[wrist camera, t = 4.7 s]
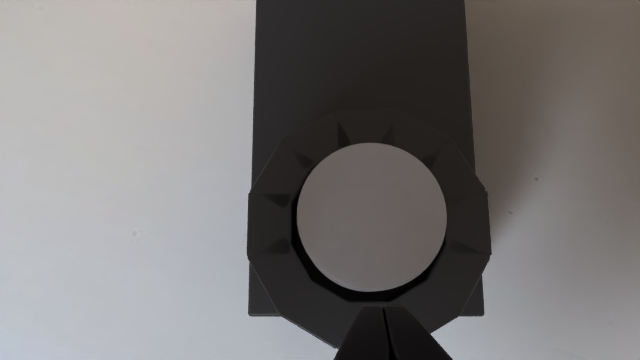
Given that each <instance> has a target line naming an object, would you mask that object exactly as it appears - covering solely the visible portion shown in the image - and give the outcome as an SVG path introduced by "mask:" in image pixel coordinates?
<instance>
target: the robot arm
mask: <svg viewBox="0 0 640 360" xmlns="http://www.w3.org/2000/svg"><path fill="white" fill-rule="evenodd" d="M334 360H453V359H452V358H451V357H450V356H449V355H448V354H447V352H446V351H445V350H444V349H443V348H442V347H441V346H440V345H439V344H438V342H437V341H436V340H435V339H434V338H433V337H432V336H431V335H430V333H429V332H428V331H427V330H426V329H425V328H424V327H423V326H422V325H421V323H420V322H419V321H418V320H417V319H416V318H415V317H414V316H413V314H412V313H411V312H410V311H409V310H408V309H407V308H406V307H405V306H403V305H386V306H384V308H382V307H381V306H380V305H363V306H361V307H360V309H359V311H358V313H357V315H356V317H355V319H354V321H353V322H352V324H351V326H350V328H349V330H348V332H347V334H346V336H345V338H344V340H343V342H342V344H341V346H340V348H339V350H338V352H337V354H336V356H335V358H334Z"/></svg>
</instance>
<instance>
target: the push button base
mask: <svg viewBox="0 0 640 360" xmlns="http://www.w3.org/2000/svg"><path fill="white" fill-rule="evenodd" d="M360 143H381V144H386V145H391V146H394V147H397V148H400V149H402V150H404V151H406V152H408V153H409V154H411V155H413V156H414V157H416V158H417V159H418V160H419V161H421V162H422V163H423V164H424V165H425V166H426V167H427V168H428V169H429V170H430V172H431V173H432V174H433V176H434V177H435V179H436V181H437V182H438V184H439V186H440V188H441V191H442V193H443V196H444V200H445V204H446V212H447V225H446V231H445V236H444V239H443V243H442V245H441V247H440V250H439V252H438V254H437V255H436V257H435V258H434V260H433V261H432V263H431V264H430V265H429V266H428V267H427V269H425V270H424V271H423V272H422V273H421V274H420V275H419V276H417V277H416V278H414V279H413V280H411V281H410V282H408V283H406V284H404V285H401V286H398V287H396V288H393V289H388V290H383V291H373V292H364V291H356V290H351V289H348V288H345V287H342V286H340V285H338V284H336V283H335V282H333V281H332V280H330V279H329V278H327V277H326V276H325V275H324V274H323V273H322V272H321V271H320V270H319V269H318V268H317V267H316V266H315V264H314V263H313V261H312V260H311V258H310V257H309V255H308V254H307V252H306V250H305V248H304V246H303V244H302V241H301V238H300V235H299V231H298V226H297V206H298V201H299V196H300V193H301V190H302V188H303V185H304V183H305V181H306V180H307V178H308V176H309V175H310V173H311V172H312V171H313V169H314V168H315V167H316V166H317V165H318V164H319V163H320V162H321V161H322V160H324V159H325V158H326V157H327V156H329V155H331V154H332V153H334V152H336V151H338V150H340V149H342V148H345V147H348V146H350V145H355V144H360ZM491 254H492V252H491V238H490V223H489V208H488V194H487V191H485V188H484V186H483V185H482V183H481V182H480V180H479V179H478V177H477V176H476V174H475V158H474V143H473V127H472V111H471V96H470V80H469V64H468V49H467V33H466V17H465V2H464V0H256V31H255V70H254V108H253V147H252V186H251V190H250V193H249V194H248V229H247V256H248V260H249V261H250V263H249V301H248V314H249V316H282V317H283V318H285V319H287V320H288V321H290V322H292V323H293V324H295V325H297V326H298V327H300V328H302V329H303V330H305V331H307V332H308V333H310V334H312V335H313V336H315V337H317V338H318V339H320V340H322V341H323V342H325V343H327V344H328V345H330V346H332V347H333V348H337V349H339V348H340V346H341V344H342V342H343V340H344V338H345V336H346V334H347V332H348V330H349V328H350V326H351V324H352V322H353V321H354V319H355V317H356V315H357V313H358V311H359V309H360V307H361V306H363V305H380V306H381V307H382V308H384V306H386V305H403V306H405V307H406V308H407V309H408V310H409V311H410V312H411V313H412V314H413V316H414V317H415V318H416V319H417V320H418V321H419V322H420V323H421V325H422V326H423V327H424V328H425V329H426V330H427V331H428V332H429V333H430V334H431V333H432V332H434V331H435V330H437V329H439V328H440V327H442V326H444V325H445V324H447V323H449V322H450V321H452V320H453V319H455V318H457V317H458V316H483V315H484V299H483V284H482V273H483V271H484V269H485V267H486V265H487V263H488V261H489V259H490V255H491Z"/></svg>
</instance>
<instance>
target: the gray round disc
mask: <svg viewBox="0 0 640 360" xmlns="http://www.w3.org/2000/svg"><path fill="white" fill-rule="evenodd" d="M446 225H447V212H446V204H445V200H444V196H443V193H442V191H441V188H440V186H439V184H438V182H437V181H436V179H435V177H434V176H433V174H432V173H431V172H430V170H429V169H428V168H427V167H426V166H425V165H424V164H423V163H422V162H421V161H419V160H418V159H417V158H416V157H414V156H413V155H411V154H409V153H408V152H406V151H404V150H402V149H400V148H397V147H394V146H391V145H386V144H381V143H360V144H355V145H350V146H348V147H345V148H342V149H340V150H338V151H336V152H334V153H332V154H331V155H329V156H327V157H326V158H325V159H324V160H322V161H321V162H320V163H319V164H318V165H317V166H316V167H315V168H314V169H313V171H312V172H311V173H310V175H309V176H308V178H307V180H306V181H305V183H304V185H303V188H302V190H301V193H300V196H299V201H298V206H297V226H298V231H299V235H300V238H301V241H302V244H303V246H304V248H305V250H306V252H307V254H308V255H309V257H310V258H311V260H312V261H313V263H314V264H315V266H316V267H317V268H318V269H319V270H320V271H321V272H322V273H323V274H324V275H325V276H326V277H327V278H329V279H330V280H332V281H333V282H335V283H336V284H338V285H340V286H342V287H345V288H348V289H351V290H356V291H364V292H373V291H383V290H388V289H393V288H396V287H398V286H401V285H404V284H406V283H408V282H410V281H411V280H413V279H414V278H416V277H417V276H419V275H420V274H421V273H422V272H423V271H424V270H425V269H427V267H428V266H429V265H430V264H431V263H432V261H433V260H434V258H435V257H436V255H437V254H438V252H439V250H440V247H441V245H442V243H443V239H444V236H445V231H446Z"/></svg>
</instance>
